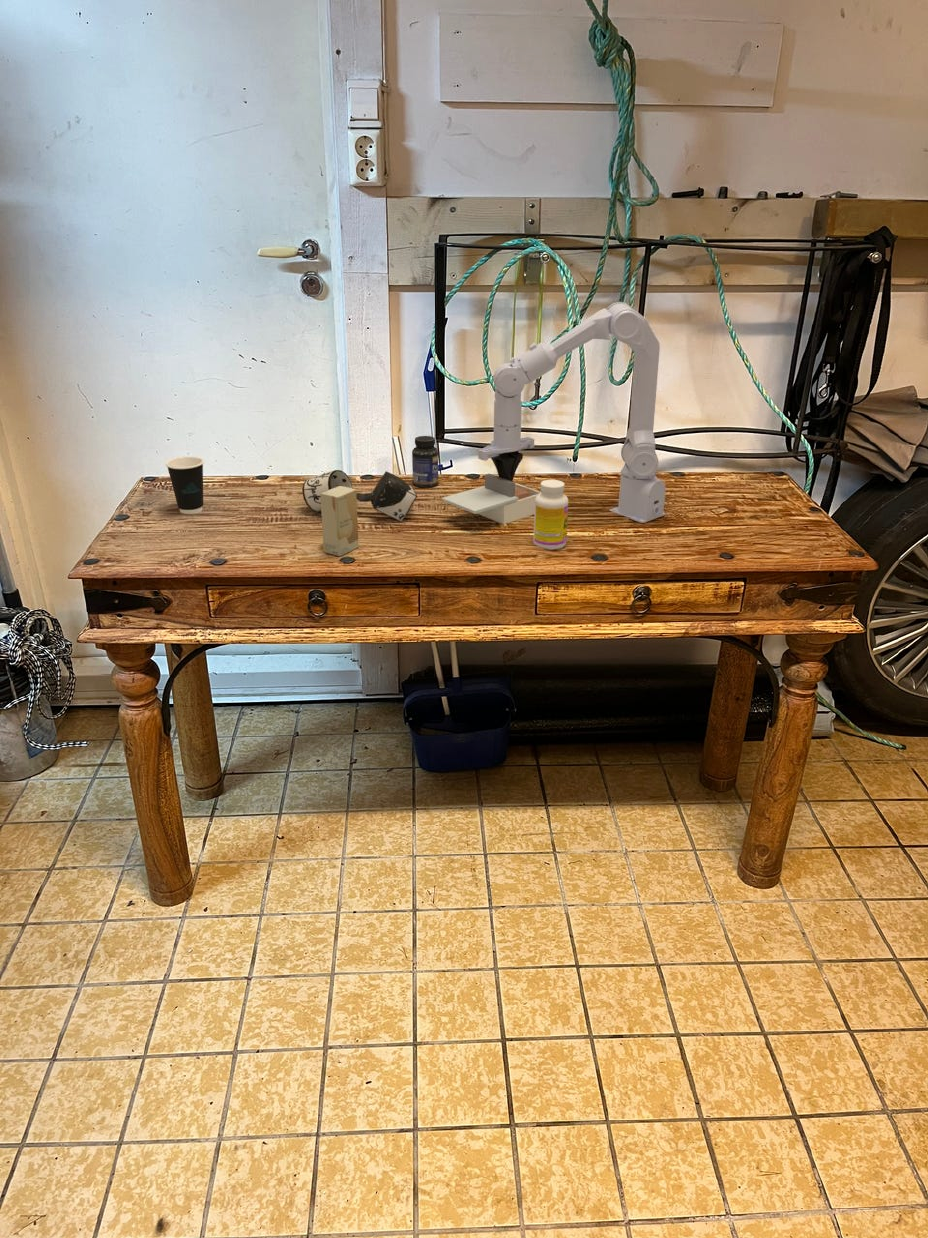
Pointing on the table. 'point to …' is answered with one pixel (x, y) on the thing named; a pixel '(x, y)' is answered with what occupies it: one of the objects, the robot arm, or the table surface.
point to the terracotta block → (520, 493)
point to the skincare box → (339, 520)
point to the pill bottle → (425, 462)
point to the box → (514, 508)
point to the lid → (485, 495)
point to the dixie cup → (187, 483)
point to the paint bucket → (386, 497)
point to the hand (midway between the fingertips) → (505, 486)
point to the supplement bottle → (551, 516)
